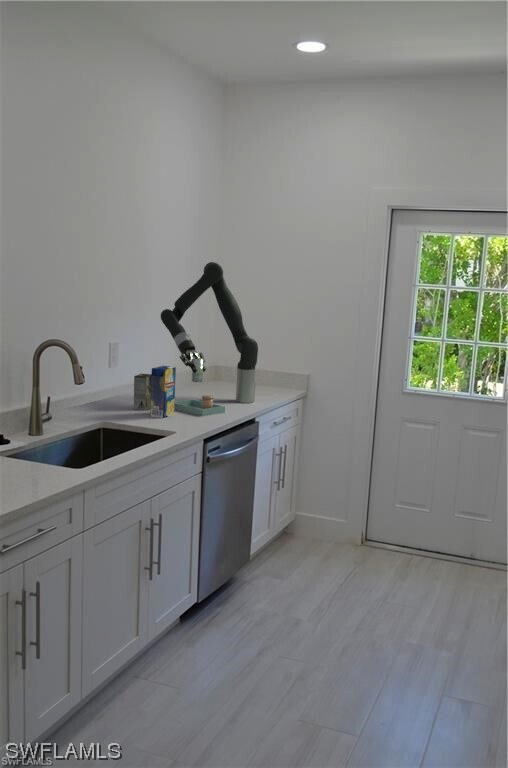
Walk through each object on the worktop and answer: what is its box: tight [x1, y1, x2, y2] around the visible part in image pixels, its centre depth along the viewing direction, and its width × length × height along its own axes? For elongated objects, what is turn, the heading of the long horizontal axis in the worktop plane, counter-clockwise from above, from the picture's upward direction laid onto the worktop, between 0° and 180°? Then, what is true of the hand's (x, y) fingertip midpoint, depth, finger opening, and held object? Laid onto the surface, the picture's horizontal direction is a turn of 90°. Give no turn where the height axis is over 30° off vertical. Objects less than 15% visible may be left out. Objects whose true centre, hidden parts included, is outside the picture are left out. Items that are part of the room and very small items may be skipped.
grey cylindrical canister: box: [191, 358, 205, 383], centre depth 362 cm, size 5×5×11 cm
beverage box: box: [149, 365, 177, 419], centre depth 341 cm, size 7×11×22 cm, turn 161°
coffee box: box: [132, 373, 152, 411], centre depth 354 cm, size 9×6×16 cm
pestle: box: [201, 394, 214, 409], centre depth 349 cm, size 5×5×8 cm
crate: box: [174, 398, 226, 417], centre depth 353 cm, size 15×22×4 cm
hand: (200, 371), depth 360 cm, fingers closed on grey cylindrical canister, 5 cm apart
